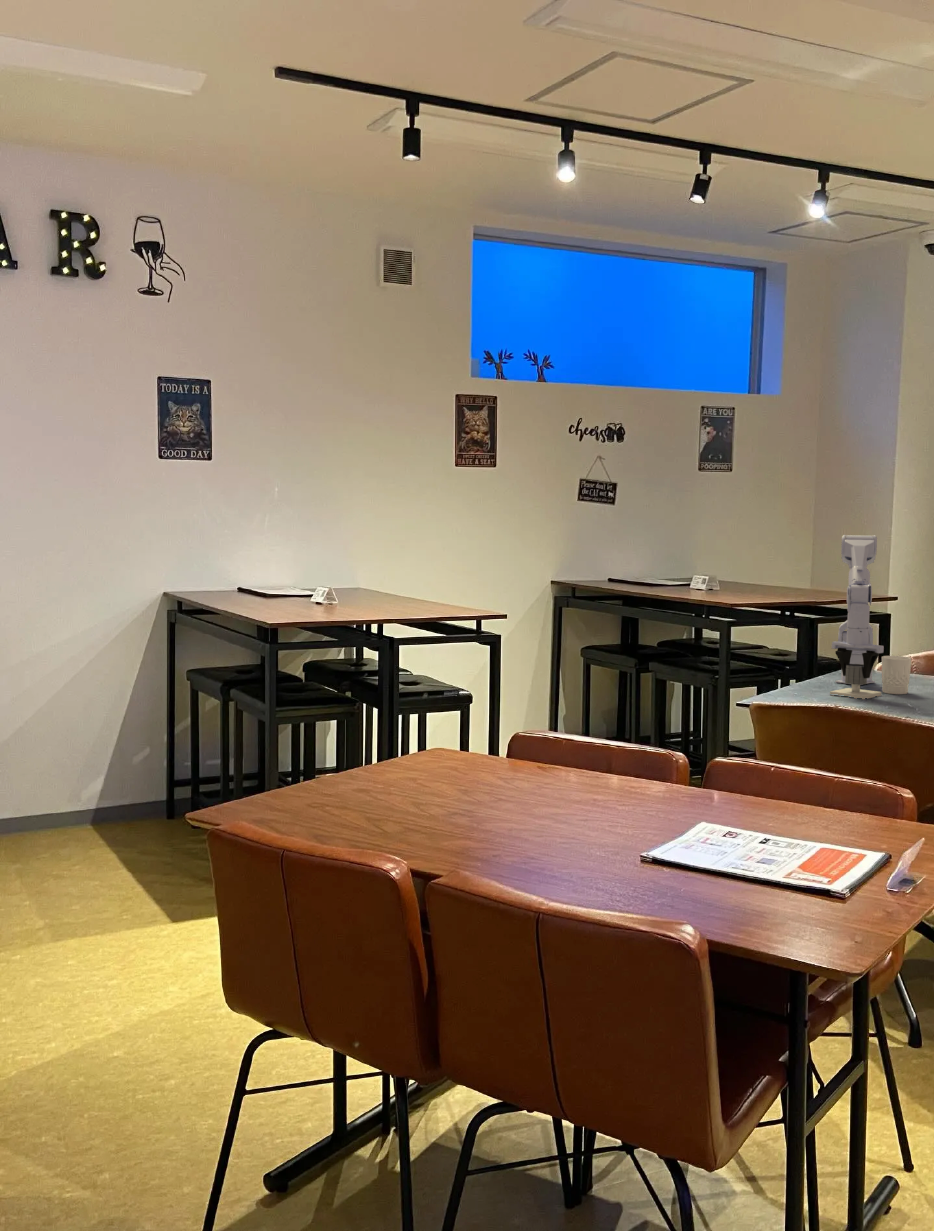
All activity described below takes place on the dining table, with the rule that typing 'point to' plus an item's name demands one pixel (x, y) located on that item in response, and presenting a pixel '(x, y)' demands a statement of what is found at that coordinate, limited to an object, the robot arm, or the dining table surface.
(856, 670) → the ring
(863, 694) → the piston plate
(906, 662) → the white cup
